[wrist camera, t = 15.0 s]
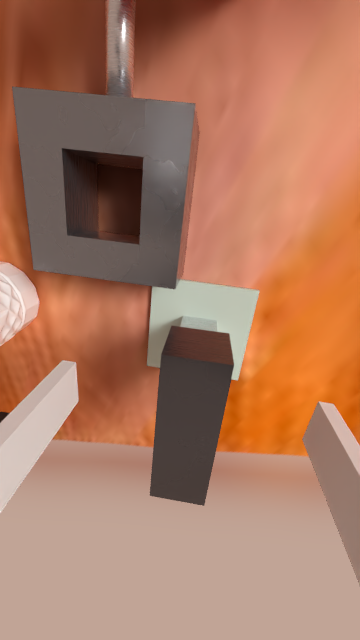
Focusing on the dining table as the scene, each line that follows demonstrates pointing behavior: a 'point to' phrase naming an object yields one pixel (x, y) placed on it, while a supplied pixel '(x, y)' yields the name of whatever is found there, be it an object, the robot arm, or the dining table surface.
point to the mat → (202, 314)
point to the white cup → (15, 301)
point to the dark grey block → (190, 409)
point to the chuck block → (114, 150)
